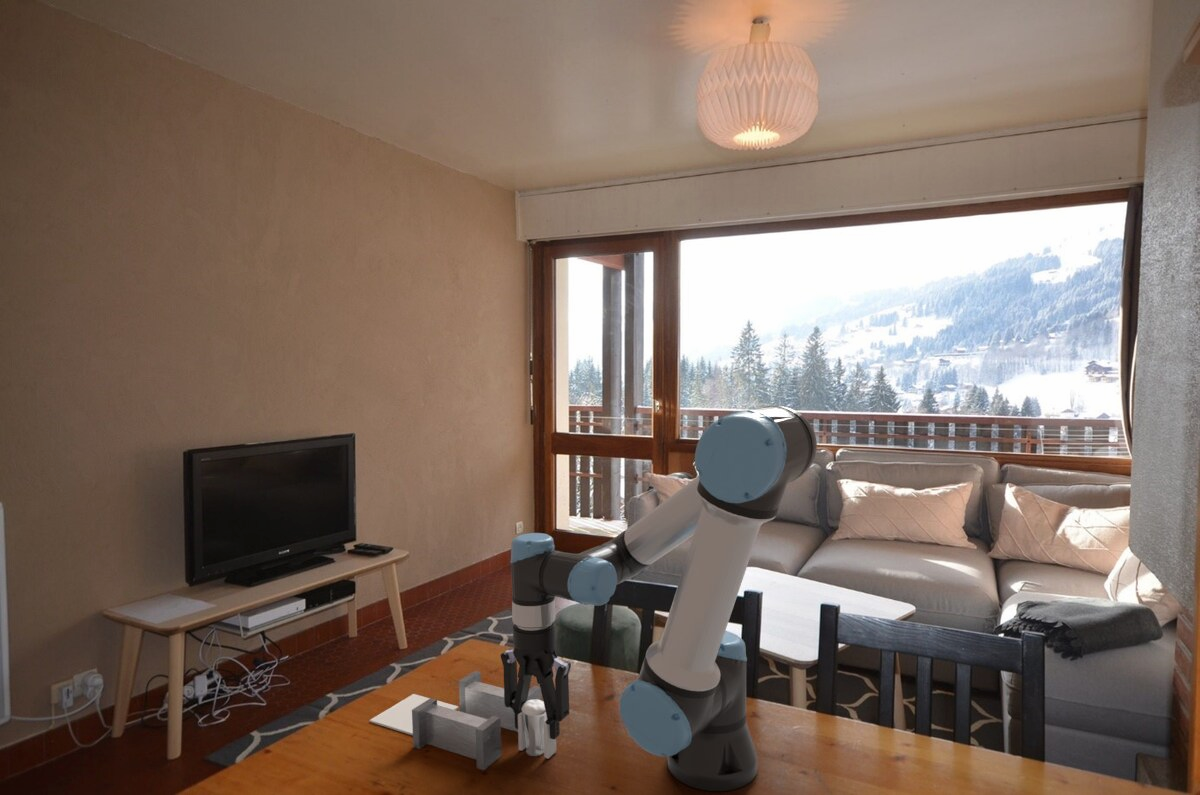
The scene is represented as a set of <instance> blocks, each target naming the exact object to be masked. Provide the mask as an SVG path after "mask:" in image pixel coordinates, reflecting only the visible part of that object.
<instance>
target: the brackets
mask: <svg viewBox="0 0 1200 795" xmlns="http://www.w3.org/2000/svg"><path fill="white" fill-rule="evenodd" d="M458 694H459V710H453V709H449V708H446V707H442V706H439V705H437V701H438V699H436V698H433V697H431V698H430V697H429V698H430V699H428V700H427V701H425V702H424V703H422V704H420V705H419V706H417V707H416V708H414V709H412V727H413V735H412V745H413V748H414V749H417V750H421V749H422V748H424V747H425V746H427V745H430V746H433V747H435V748H439V749H441V750H445V751H448V752H451V753H455V754H458V755H461V756H462V757H463V756H464V757H466V758H470V759H472V760H476V769H479V770H482V771H485V770H486V769H487V768H490V767H489V766H491V765H492V764H493V763H495V762H496V761H497V760H498V759H500V758H501V757H502V735H501V734H502V733H501V732H502V731H501V730H502V729H507V730H509V731H512V732H513V731H514V732H517V733H518V729H516V728H515V713H514V711H513V709H512V708H511V707H506V706H505V703H504V687H500V686H496V685H494V684H493V685H492V684H489V683H484V682H482V672H481V671H479V670H474V671H472V672H470V673H469V674H467V675H465V676H464V677H463V678H461V679H459V680H458ZM535 699H538V700H541V701H543V697H542V693H541V688H540V685H539V686H538V685H535V684H534V685H533V686H532V687H529V693H528V698H527V701H528V700H535Z"/></svg>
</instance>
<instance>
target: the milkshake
mask: <svg viewBox="0 0 1200 795" xmlns="http://www.w3.org/2000/svg"><path fill="white" fill-rule="evenodd" d="M522 717H523V724H524V732H525V742H526V748H525V751H526V755H528V756H530V757H538V756H539V757H540V756H542V755H543V754H545V753H544V721H545V720H546V719H547V715H546V710H545V706H544V701H543V700H542V701H541V700H538V699H535V700H528V701H526V702H525V703H524V705H523V706H522Z"/></svg>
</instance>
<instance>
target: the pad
mask: <svg viewBox="0 0 1200 795" xmlns="http://www.w3.org/2000/svg"><path fill="white" fill-rule="evenodd" d="M428 699H430V697H426V696H423V695H420V694H416V693H412V694H411V695H408V697H406V698H404V699H402V700H401V701H399V702H397V703H396V704H394V705H393V706H390V708H387V709H385V710H384V711H382V712H381V713H379V714H378V715H375V716H374V717H372V718H371V719H369V722H370V723H371V724H375V725H378V726H381V727H385V728H388V729H390V730H394V731H398V732H400V733H404V734H407V735H410V736H413V727H412V709H414V708H416V707H417V706H419V705H420V704H422V703H424V702H425V701H427V700H428ZM437 705H439V706H442V707H446V708H449V709H453V710H456V711H458V710H460V705H459V706H458V705H456V704H455V705H454V704H451V703H449V702H448V703H447V702H444V701H440V700H437Z"/></svg>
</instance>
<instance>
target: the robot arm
mask: <svg viewBox="0 0 1200 795" xmlns="http://www.w3.org/2000/svg"><path fill="white" fill-rule="evenodd" d="M817 442H818V441H817V436H816V433H815V429H814V428H813V426H812V424H811V422H809V420H808V419H807V418H806V417H805V416H804V415H803V414H802V413H801V412H798V411H797V410H795V409H793V408H791V407H787V406H782V405H770V406H763V407H760V408H755V409H749V410H748V409H747V410H738V411H733V412H731V413H729V414H727V415H724V416H723V417H721V418H718V419H717V420H714V422H712V423H711V424H710V425H708V426H707V428H706V429H705V430H704V431H703V432H702V433H701V436H700V438H699V440H698V442H697V444H696V448H695V455H694V466H695V470H696V472H697V474H698V476H697V477H695V478H694V479H692V481H689V482H688V483H687V484H686V485H684V486H683V487H682V488H680V489H679V490H678V491H676V492H675V493H673V494H672V495H670V496H669V497H668V498H667V499H666V500H664V501H663V502H661V503H660V504H659V505H657V506H656V507H654V508H653V509H652V510H650V511H649V512H648V513H647V514H645V515H644V516H642V517H641V518H640V519H638V520H637V521H636V522H634V523H633V524H631V525H630V526H629V527H626V529H625V530H624V531H622V532H621V533H619V534H618V535H617V536H615V537H614V538H612V539H611V540H608V541H607V542H604V543H602V544H599V545H597V546H594V547H592V548H589V549H586V550H584V551H582V552H580V553H570V552H564V551H560V550H556V549H555V547H556V545H555V542H554V541H555V540H554V538H553V537H552V536H551V535H549V534H547V533H542V532H530V533H524V534H520V535H518V536H515V537H514V538H513V540H512V541H511V548H510V561H509V563H510V573H511V575H510V576H511V594H512V595H511V596H512V597H511V599H512V600H511V611H512V613H511V615H512V617H511V618H512V620H511V621H512V622H513V625H512V641H513V642H512V643H513V646H514V648H508V649H507V650H505V651H503V652H502V653H500V660H501V663H502V665H503V688H504V703H505V706H506V707H511V708H512V709H513V711H514V713H515V728H516V729H518V732H517V738H518V751H524V750H526V742H525V732H524V724H523V717H522V706H523V705H524V703H525V702H526V701H527V698H528V693H529V689H530V688H531V681H532V678H533V677H535V678H536V682H537V684H538V685H539V687H540V688H541V698H542V701H543V702H544V706H545V710H546V715H547V718H546V720H545V721H544V753H543V754H544V758H545V759H550V758H551V757H552V756H553V755H554V754H555V753H556V752H557V738H558V737H559V736H560V722H562V721H563V720H564V719H565V718H567V716H569V715H570V689H569V688H570V687H569V686H570V684H569V673H570V671H571V668H572V664H571V662H570V661H568V660H567V661H565V662H564V661H563V660H561V659H560V658H558V654H557V652H556V645H557V644H556V643H557V631H556V630H557V628H556V622H555V621H556V597H557V598H560V599H565V600H568V601H572V602H576V603H578V604H581V605H582V604H583V605H585V606H586V605H587V606H588V605H589V606H604V605H605V604H607V603H608V602H609V601H610V598H611V597H612V596H614V593H615V591H616V590H617V585H620V584H621V583H624V582H626V581H628V580H630V579H633V578H637V577H638V576H640V575H641V574H643V573H644V572H645V571H646V570H648V569H649V568H650V566H651V565H652V564H654V563H655V562H657V561H658V560H660V559H661V558H662V557H664V556H665V555H666V554H669V553H670V552H672V551H673V550H674V549H676V548H677V547H679V546H680V545H682V544H683V543H685V542H687V541H688V540H689V539H690V538H692V540H691V542H690V546H689V549H688V553H687V555H686V558H685V561H684V565H683V568H682V571H681V575H680V578H679V580H678V584H677V587H676V591H675V594H674V596H673V600H672V604H671V606H670V609H669V612H668V616H667V619H666V622H665V626H664V628H663V632H662V635H661V638H660V640H657V641H655V642H653V643H651V644H650V645H649V646H648V647H647V650H646V653H645V656H644V659H643V662H642V665H641V669H640V672H639V675H638V677H637V678H636V679H635V680H633V681H631V682H630V683H629V684H628V685H626V688H625V689H624V690H623V691H622V693H621V696H620V698H619V713H620V717H621V721H622V724H624V726H625V727H626V728H625V729H626V731H627V733H628V735H629V736H630V737H631V739H632V740H633V741H634V742H635V743H636V744H637V746H639V747H640V748H641V749H642V750H644V751H645V752H646V753H649V754H650V755H653V756H657V757H662V758H663V757H664V758H665V757H667V768H668V770H669V771H670V772H669V773H670V774H671V775H672V776H673V777H674V778H675V779H677V780H678V781H679V782H681V783H683V784H684V785H687V786H689V787H691V788H694V789H698V790H701V791H708V792H709V791H710V792H726V791H727V792H728V791H733V790H736V789H740V788H742V787H745V786H747V785H748V784H749V783H751V782H752V781H753V780H754V779H755V777H756V775H757V773H758V755H757V751H756V748H755V745H754V742H753V740H752V736H751V733H750V730H749V727H748V724H747V661H748V657H747V654H746V652H747V650H746V643H745V641H744V639H742V637H740V636H738V635H737V634H736V633H734V632H731V631H727V630H726V629H727V627H728V623H729V621H730V618H731V615H732V612H733V610H734V606H735V603H736V600H737V598H738V594H739V591H740V588H741V586H742V583H743V580H744V577H745V574H746V571H747V567H748V564H749V561H750V559H751V556H752V553H753V550H754V546H755V544H756V541H757V539H758V538H757V537H758V536H759V532H760V528H761V526H762V525H763V524H765V523H768V522H770V521H772V520H774V519H775V518H776V517H777V514H778V511H779V508H780V505H781V503H782V499H783V497H784V494H785V491H786V488H787V485H788V484H790V483H791V482H793V481H796V480H797V479H798V478H800V477H802V476H803V475H804V474H806V473H807V471H808V470H809V469H810V467H811V466H812V465H813V462H814V460H815V458H816V455H817V449H818V446H817V445H818V443H817ZM518 666H519V667H518ZM553 667H554V671H553ZM554 675H555V680H554ZM532 676H533V677H532Z"/></svg>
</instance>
